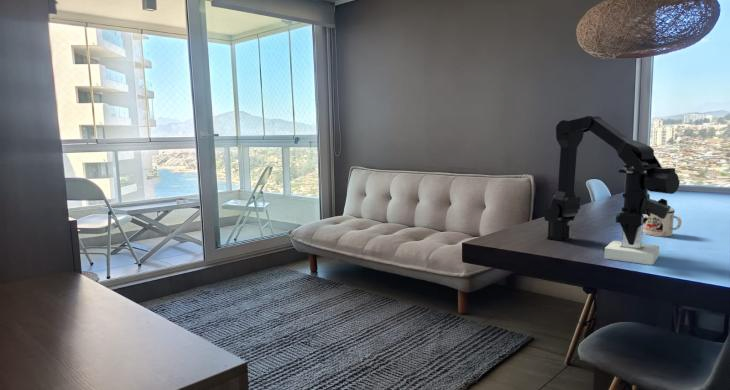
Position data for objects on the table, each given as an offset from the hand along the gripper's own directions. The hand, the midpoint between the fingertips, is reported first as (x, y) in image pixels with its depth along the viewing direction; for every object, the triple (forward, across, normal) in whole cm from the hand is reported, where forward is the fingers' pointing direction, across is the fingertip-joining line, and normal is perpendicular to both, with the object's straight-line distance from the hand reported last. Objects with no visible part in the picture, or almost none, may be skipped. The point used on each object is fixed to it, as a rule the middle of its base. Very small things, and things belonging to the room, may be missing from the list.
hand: (632, 243), depth 136 cm
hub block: (+4, 0, 0) cm, 4 cm away
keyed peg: (+2, 0, 0) cm, 2 cm away
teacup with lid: (+4, +38, -3) cm, 38 cm away
